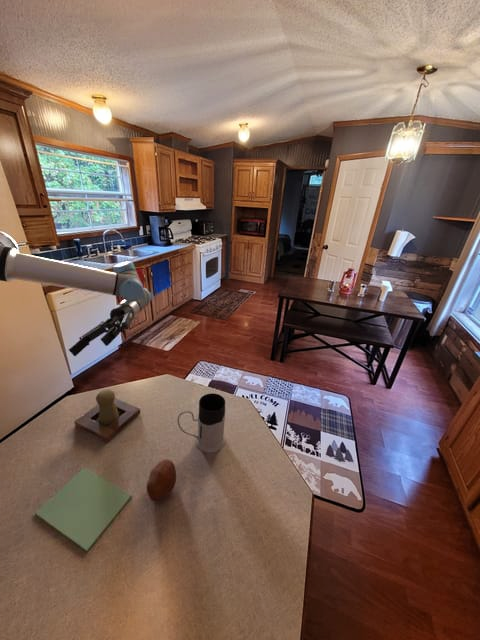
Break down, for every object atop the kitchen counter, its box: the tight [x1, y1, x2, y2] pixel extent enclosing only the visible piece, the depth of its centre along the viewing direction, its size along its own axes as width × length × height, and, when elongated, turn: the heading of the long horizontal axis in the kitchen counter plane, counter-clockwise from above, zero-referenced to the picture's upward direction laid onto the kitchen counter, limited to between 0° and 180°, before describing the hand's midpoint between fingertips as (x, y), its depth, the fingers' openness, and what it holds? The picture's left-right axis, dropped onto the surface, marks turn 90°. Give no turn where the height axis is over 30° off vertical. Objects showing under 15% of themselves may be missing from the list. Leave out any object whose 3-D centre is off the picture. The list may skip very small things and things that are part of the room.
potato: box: [146, 458, 177, 503], centre depth 63 cm, size 7×9×6 cm
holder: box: [73, 397, 141, 444], centre depth 81 cm, size 13×13×2 cm
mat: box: [34, 467, 133, 553], centre depth 59 cm, size 16×12×1 cm
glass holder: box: [176, 392, 226, 454], centre depth 74 cm, size 9×14×15 cm, turn 112°
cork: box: [95, 388, 120, 427], centre depth 80 cm, size 6×6×11 cm
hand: (87, 347), depth 76 cm, fingers open, 13 cm apart
